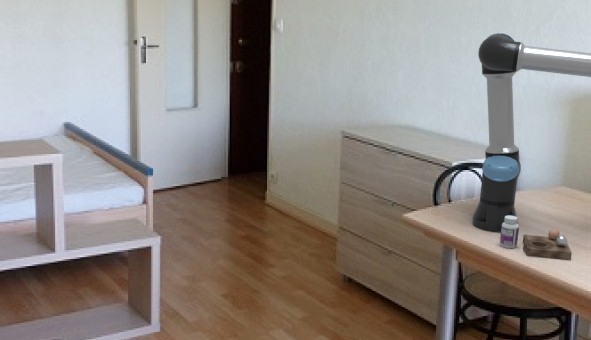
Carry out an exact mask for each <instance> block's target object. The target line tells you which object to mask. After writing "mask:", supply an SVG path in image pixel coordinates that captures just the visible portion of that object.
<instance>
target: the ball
mask: <svg viewBox="0 0 591 340" xmlns="http://www.w3.org/2000/svg"><path fill="white" fill-rule="evenodd" d="M567 243H568V238H567V237H566V236H564V235H559V236H558V237H557V238H556V244H557V245H558V246H565V245H566V244H567Z"/></svg>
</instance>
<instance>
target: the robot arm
mask: <svg viewBox="0 0 591 340" xmlns="http://www.w3.org/2000/svg"><path fill="white" fill-rule="evenodd" d="M477 54H478V59H479V62H480V63H481V75H483V77H484V78H486V79H485V80H486V89H487V90H486V91H487V92H486V93H487V117H488V118H487V120H488V142H489V145H488V147H486V148H485V151H484V153H485V154H484V156H485V157H484V158H485V159H484V161H483V165H482V167H481V170H482V171H481V172H482V174H481V183H480V184H481V185H480V193H479V194H480V195H479V203H478V204H477V207H476V209H475V210H474V213H473V215H472V222H471V223H472V225H473V226H474V227H476V228H477V229H478V228H479V229H481V230H485V231H489V232H494V233H495V232H496V233H501V227H502V223H503V222H505V220H504V219H505V216H516V217H517V212H516V208H515V202H516V201H515V200H516V193H517V184H518V180H519V179H518V178H519V176H520V173H521V169H522V167H521V162H520V149H519V147H518V146H516V144H515V128H514V124H515V123H514V98H513V97H514V95H513V77H514V76H515V74H516V73H517V72H519V71H521V70H525V71H526V70H528V71H537V72H545V73H552V74H561V75H568V76H569V75H570V76H578V77H587V78H591V52H582V51H575V50H567V49H566V50H565V49H557V48H556V49H555V48H547V47H538V46H531V45H530V46H529V45H525V44H524V43H523V42H522V41H521V42H520V41H516V40H514V38H513V37H512V36H511V35H508V34H506V33H502V32H501V33H499V32H498V33H493V34H490V35H489V36H487V37H486V39H484V40H482V42H481V44H480V45H479V48H478V53H477ZM517 218H518V217H517ZM517 224H518V221H517ZM518 225H519V224H518Z"/></svg>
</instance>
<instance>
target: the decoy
mask: <svg viewBox="0 0 591 340" xmlns="http://www.w3.org/2000/svg"><path fill="white" fill-rule="evenodd" d="M547 235H548V236H547V237H549V238H551V239H553V240H555V239H556V238H557V237H558V236H560V232H559V230H558V229H556V228H552V229H550V230H548V232H547Z"/></svg>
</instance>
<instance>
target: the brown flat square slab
mask: <svg viewBox="0 0 591 340" xmlns="http://www.w3.org/2000/svg"><path fill="white" fill-rule="evenodd" d="M522 237H523V238H522V244H523V247H522V248H523V252H524V253H525V255H526V257H532V258H546V259H552V260H554V259H555V260H564V261H565V260H566V261H571V260H572V253H573V252H572V250H571V248H570V246H569V243H568V242H567V244H566V245H565V246H558V245H557V244H556V239H555V240H553V239H551V238H549V236H543V235H531V234H523V236H522Z"/></svg>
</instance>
